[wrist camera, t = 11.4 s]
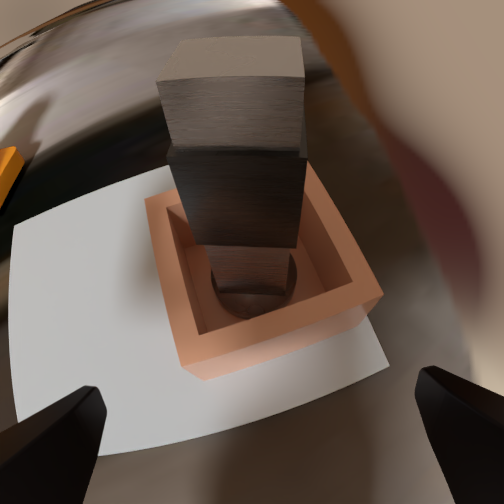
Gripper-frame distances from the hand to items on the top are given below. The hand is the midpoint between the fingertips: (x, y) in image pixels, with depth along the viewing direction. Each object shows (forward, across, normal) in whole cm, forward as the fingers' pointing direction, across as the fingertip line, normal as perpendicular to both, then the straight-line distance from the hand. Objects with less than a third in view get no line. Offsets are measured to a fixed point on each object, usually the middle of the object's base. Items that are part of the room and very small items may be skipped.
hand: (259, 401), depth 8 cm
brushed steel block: (+10, 0, 0) cm, 10 cm away
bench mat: (+11, +6, +1) cm, 13 cm away
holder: (+10, 0, +1) cm, 10 cm away
